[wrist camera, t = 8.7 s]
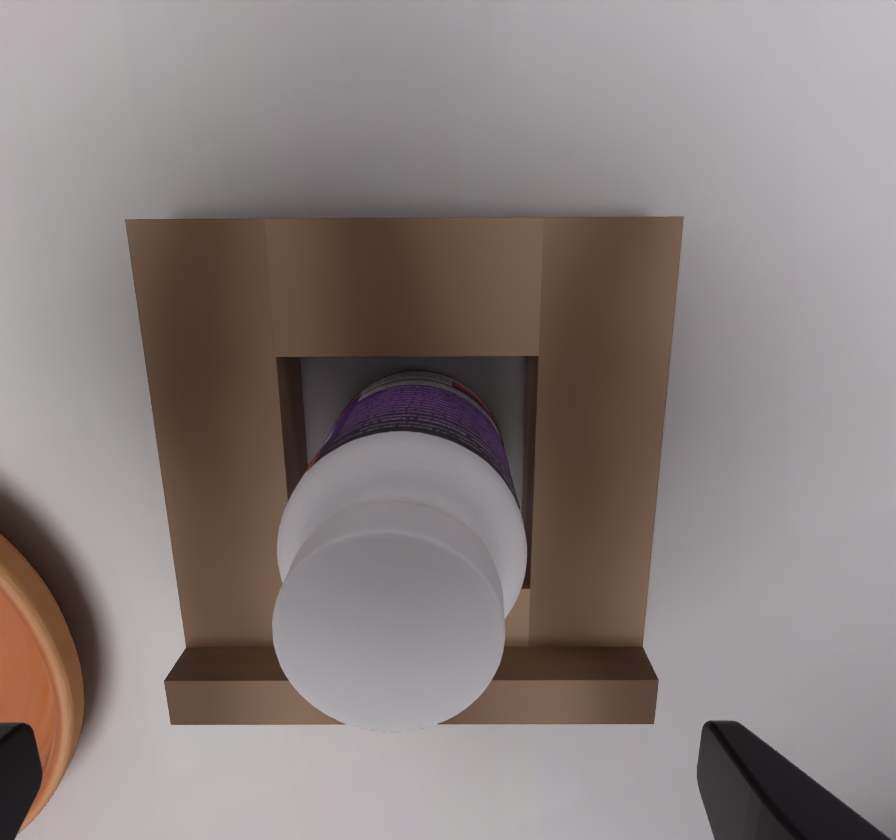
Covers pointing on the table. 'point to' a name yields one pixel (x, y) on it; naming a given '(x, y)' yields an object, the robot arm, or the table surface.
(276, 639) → the pill bottle
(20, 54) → the table surface
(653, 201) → the table surface
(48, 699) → the saucer
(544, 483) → the socket
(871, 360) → the table surface
